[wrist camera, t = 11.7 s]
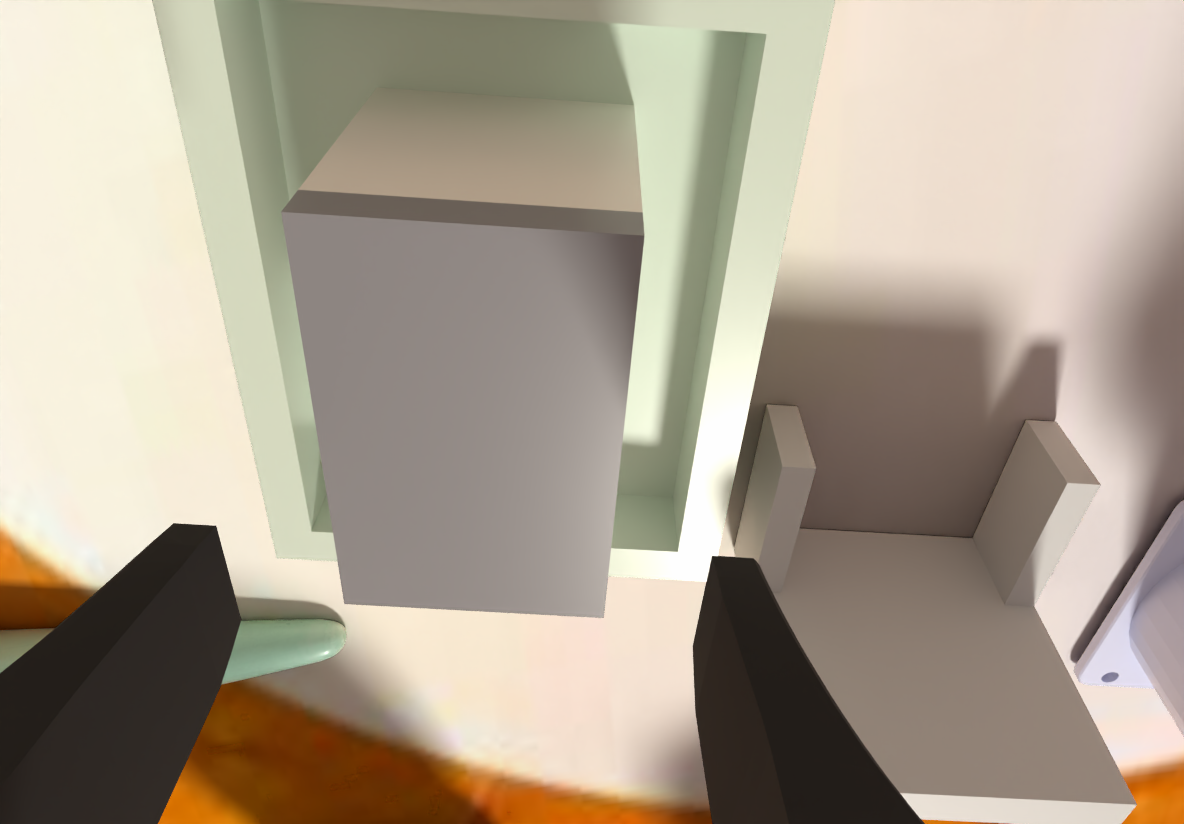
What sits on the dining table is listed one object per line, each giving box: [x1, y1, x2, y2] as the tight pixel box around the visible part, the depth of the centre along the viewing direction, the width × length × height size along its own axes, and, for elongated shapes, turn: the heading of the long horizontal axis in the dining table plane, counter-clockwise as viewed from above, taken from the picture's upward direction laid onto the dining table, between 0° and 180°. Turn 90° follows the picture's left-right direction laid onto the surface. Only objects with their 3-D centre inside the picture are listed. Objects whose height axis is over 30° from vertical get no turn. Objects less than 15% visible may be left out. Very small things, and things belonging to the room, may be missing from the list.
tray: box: [152, 0, 835, 582], centre depth 19 cm, size 11×14×3 cm
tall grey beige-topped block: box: [281, 87, 645, 618], centre depth 17 cm, size 5×8×6 cm, turn 176°
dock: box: [734, 404, 1137, 824], centre depth 20 cm, size 8×5×8 cm
